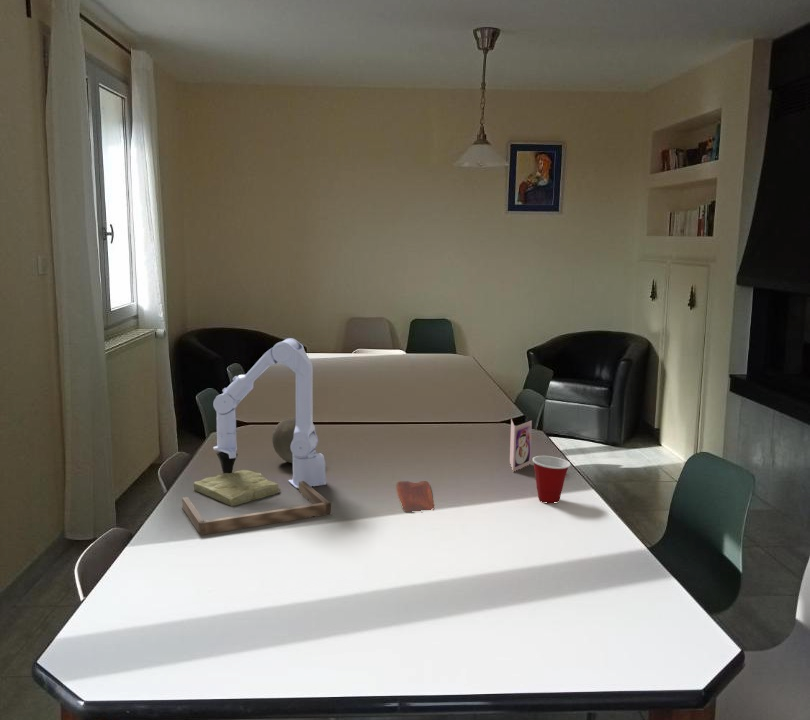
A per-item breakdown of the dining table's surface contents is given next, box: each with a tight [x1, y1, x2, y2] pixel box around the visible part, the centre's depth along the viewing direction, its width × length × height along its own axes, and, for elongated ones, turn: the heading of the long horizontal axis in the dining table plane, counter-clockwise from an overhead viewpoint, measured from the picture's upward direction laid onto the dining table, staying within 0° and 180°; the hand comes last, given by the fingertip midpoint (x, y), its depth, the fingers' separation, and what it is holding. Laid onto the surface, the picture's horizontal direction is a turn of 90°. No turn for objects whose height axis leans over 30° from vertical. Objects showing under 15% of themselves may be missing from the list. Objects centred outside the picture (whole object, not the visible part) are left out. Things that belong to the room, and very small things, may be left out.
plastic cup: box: [531, 455, 572, 504], centre depth 222 cm, size 11×11×12 cm
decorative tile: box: [193, 469, 282, 507], centre depth 228 cm, size 18×20×4 cm
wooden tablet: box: [396, 480, 435, 513], centre depth 225 cm, size 27×10×2 cm, turn 3°
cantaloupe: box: [271, 418, 296, 465], centre depth 255 cm, size 14×14×15 cm
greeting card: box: [509, 418, 533, 473], centre depth 254 cm, size 11×7×15 cm, turn 143°
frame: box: [181, 481, 332, 536], centre depth 211 cm, size 35×22×3 cm, turn 117°
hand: (227, 475), depth 238 cm, fingers closed
